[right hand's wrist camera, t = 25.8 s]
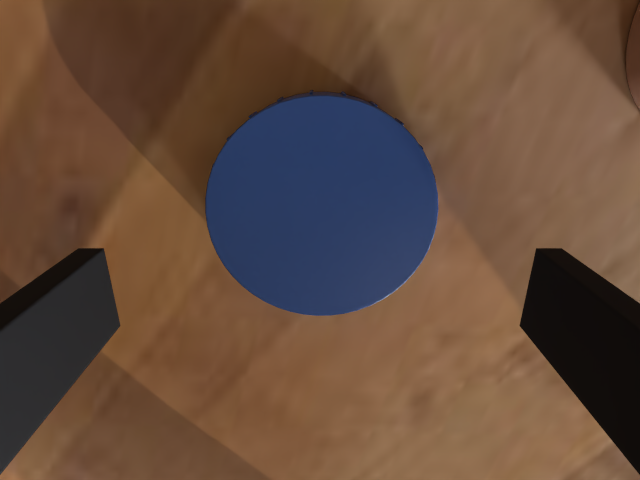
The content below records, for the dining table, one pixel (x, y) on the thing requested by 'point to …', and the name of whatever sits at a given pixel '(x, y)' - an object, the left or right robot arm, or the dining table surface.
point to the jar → (634, 58)
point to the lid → (321, 204)
